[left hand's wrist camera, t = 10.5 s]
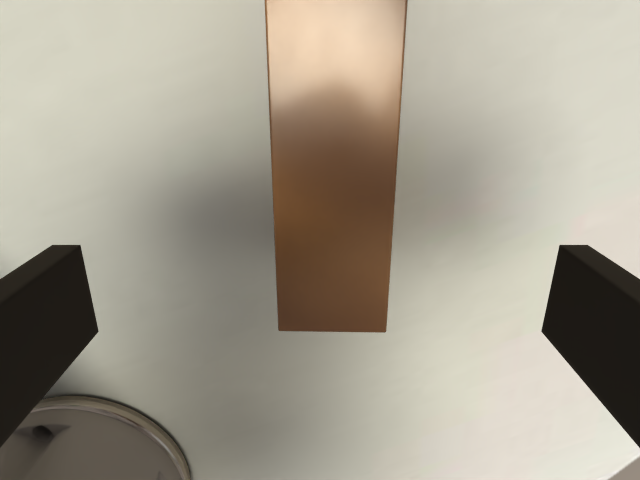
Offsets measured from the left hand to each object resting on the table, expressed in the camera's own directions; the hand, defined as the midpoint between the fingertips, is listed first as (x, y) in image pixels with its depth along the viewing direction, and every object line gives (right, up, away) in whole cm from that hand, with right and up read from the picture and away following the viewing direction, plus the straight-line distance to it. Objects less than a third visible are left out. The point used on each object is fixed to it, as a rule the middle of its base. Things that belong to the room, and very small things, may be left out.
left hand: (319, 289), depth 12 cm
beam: (+1, +35, +1) cm, 35 cm away
